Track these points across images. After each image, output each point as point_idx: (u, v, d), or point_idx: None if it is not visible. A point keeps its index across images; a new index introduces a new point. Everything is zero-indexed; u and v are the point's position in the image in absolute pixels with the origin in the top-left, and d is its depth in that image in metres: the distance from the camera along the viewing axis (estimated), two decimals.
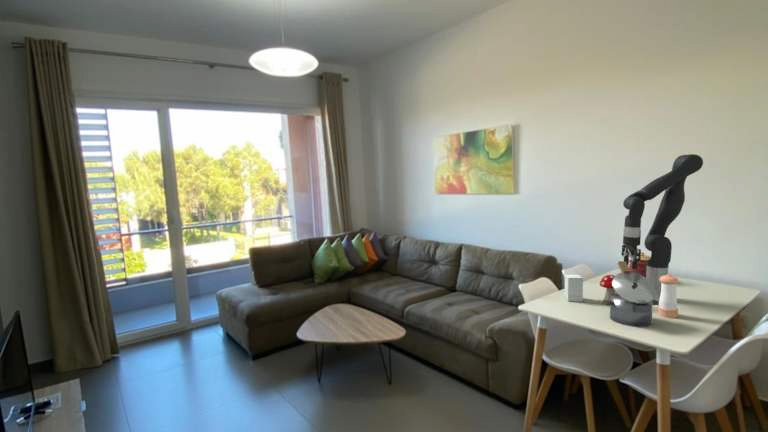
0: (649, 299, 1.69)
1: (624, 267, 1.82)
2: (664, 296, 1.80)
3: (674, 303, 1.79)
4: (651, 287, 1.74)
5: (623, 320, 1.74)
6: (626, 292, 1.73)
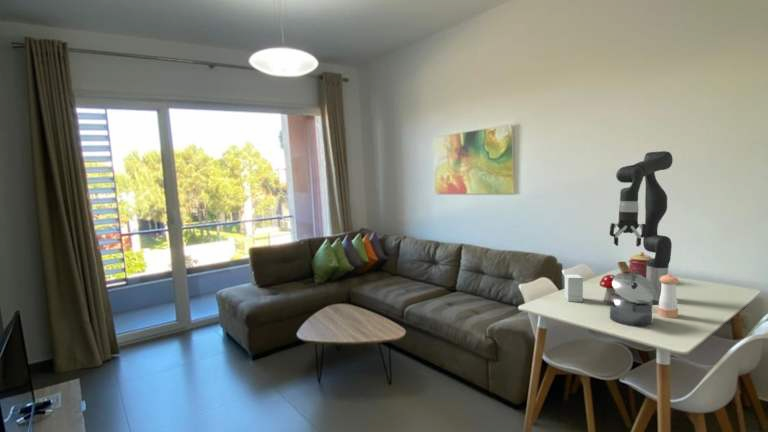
0: (649, 299, 1.69)
1: (624, 267, 1.82)
2: (664, 296, 1.80)
3: (674, 303, 1.79)
4: (651, 287, 1.74)
5: (623, 320, 1.74)
6: (626, 292, 1.73)
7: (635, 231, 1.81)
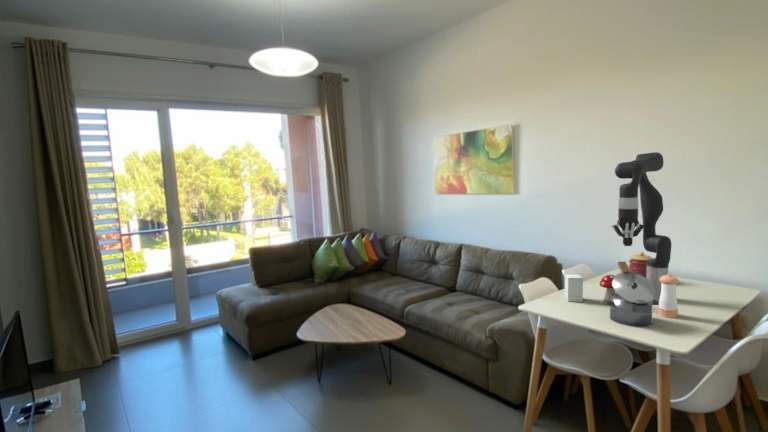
0: (649, 299, 1.69)
1: (624, 267, 1.82)
2: (664, 296, 1.80)
3: (674, 303, 1.79)
4: (651, 287, 1.74)
5: (623, 320, 1.74)
6: (626, 292, 1.73)
7: (632, 229, 1.77)
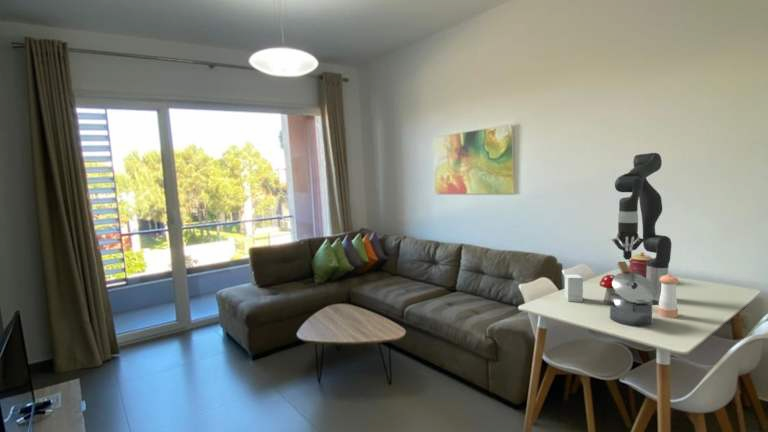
0: (649, 299, 1.69)
1: (624, 267, 1.82)
2: (664, 296, 1.80)
3: (674, 303, 1.79)
4: (651, 287, 1.74)
5: (623, 320, 1.74)
6: (626, 292, 1.73)
7: (631, 243, 1.78)
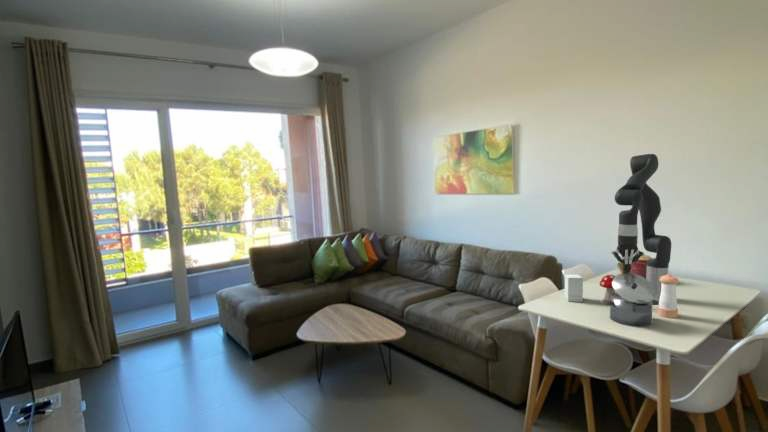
0: (649, 299, 1.69)
1: None
2: (664, 296, 1.80)
3: (674, 303, 1.79)
4: (651, 287, 1.74)
5: (623, 320, 1.74)
6: (626, 292, 1.73)
7: (631, 256, 1.78)
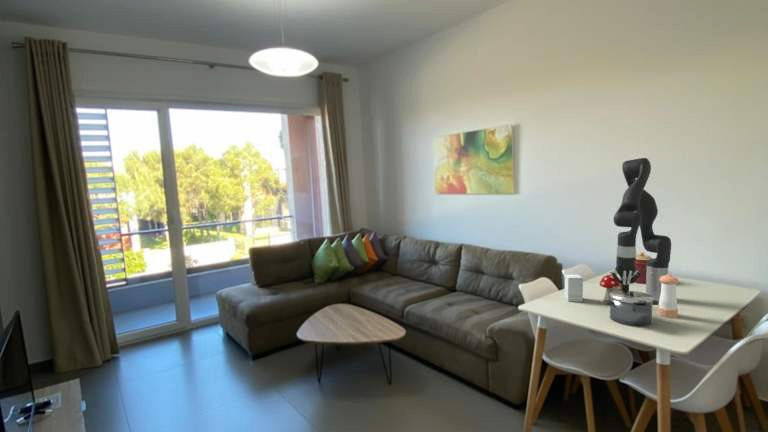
0: (648, 300, 1.70)
1: (619, 288, 1.88)
2: (664, 296, 1.80)
3: (674, 303, 1.79)
4: (648, 295, 1.76)
5: (623, 320, 1.74)
6: (624, 297, 1.75)
7: (629, 277, 1.80)
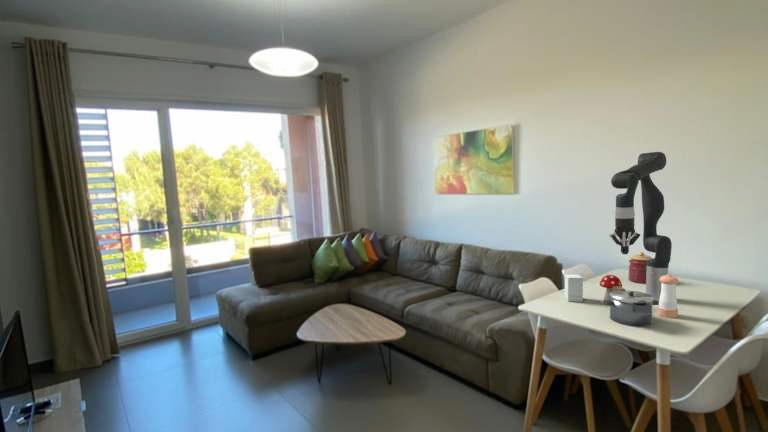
0: (648, 300, 1.70)
1: (619, 288, 1.88)
2: (664, 296, 1.80)
3: (674, 303, 1.79)
4: (648, 295, 1.76)
5: (623, 320, 1.74)
6: (624, 297, 1.75)
7: (629, 238, 1.82)
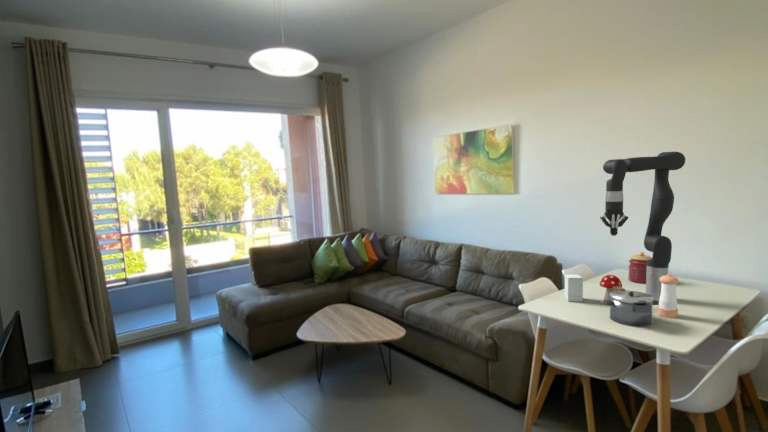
0: (648, 300, 1.70)
1: (619, 288, 1.88)
2: (664, 296, 1.80)
3: (674, 303, 1.79)
4: (648, 295, 1.76)
5: (623, 320, 1.74)
6: (624, 297, 1.75)
7: (617, 220, 1.94)
